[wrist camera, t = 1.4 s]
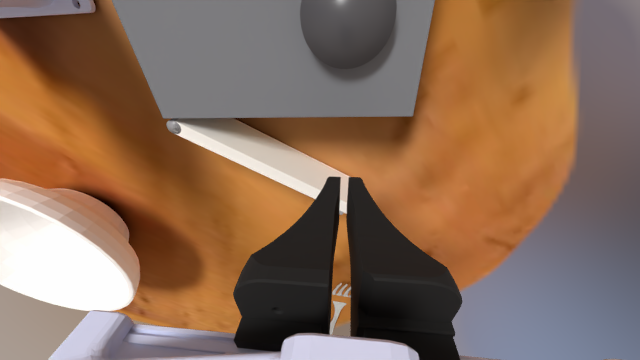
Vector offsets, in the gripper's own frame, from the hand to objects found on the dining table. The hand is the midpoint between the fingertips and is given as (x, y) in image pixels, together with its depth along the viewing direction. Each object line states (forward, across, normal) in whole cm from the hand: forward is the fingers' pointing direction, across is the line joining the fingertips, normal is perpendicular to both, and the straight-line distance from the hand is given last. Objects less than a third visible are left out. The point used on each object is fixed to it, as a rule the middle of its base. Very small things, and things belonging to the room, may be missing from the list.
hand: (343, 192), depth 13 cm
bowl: (+9, +31, +12) cm, 34 cm away
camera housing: (+8, +4, -8) cm, 12 cm away
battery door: (+8, +6, +2) cm, 10 cm away
